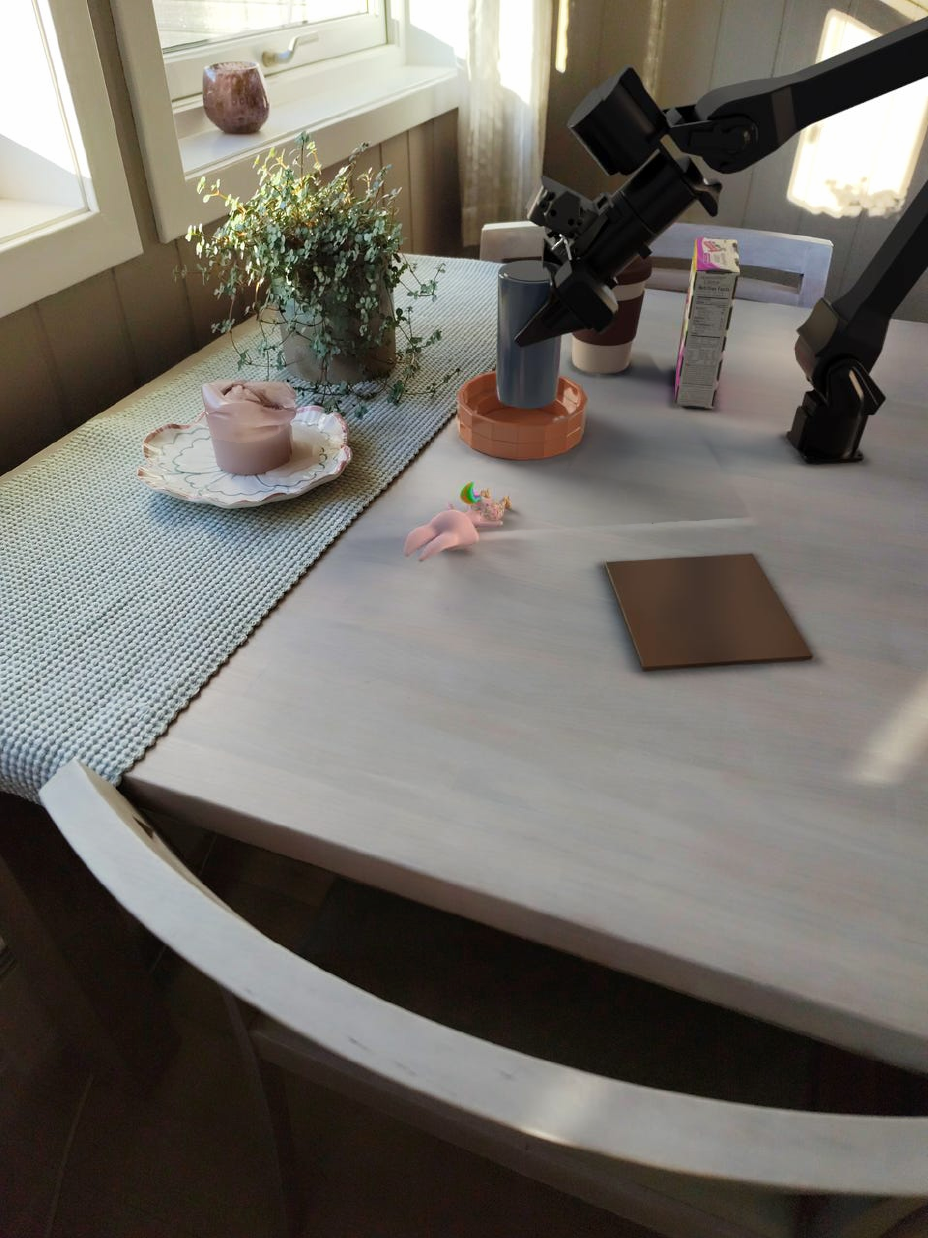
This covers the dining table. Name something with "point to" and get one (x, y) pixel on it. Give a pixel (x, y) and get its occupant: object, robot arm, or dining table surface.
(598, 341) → the coffee cup
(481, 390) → the bowl
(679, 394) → the candy bar box
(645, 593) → the board
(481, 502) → the rabbit figure
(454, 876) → the dining table surface
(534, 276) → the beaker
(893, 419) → the dining table surface
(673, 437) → the dining table surface
